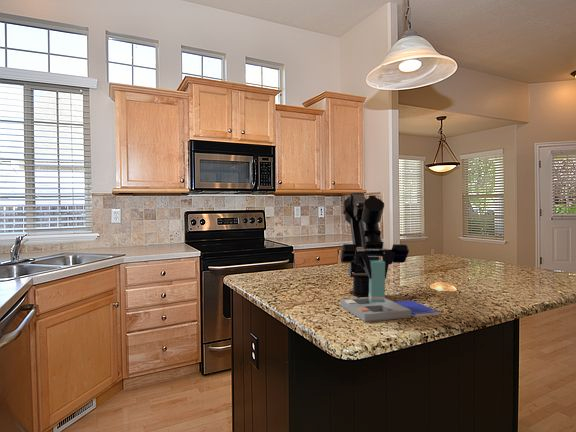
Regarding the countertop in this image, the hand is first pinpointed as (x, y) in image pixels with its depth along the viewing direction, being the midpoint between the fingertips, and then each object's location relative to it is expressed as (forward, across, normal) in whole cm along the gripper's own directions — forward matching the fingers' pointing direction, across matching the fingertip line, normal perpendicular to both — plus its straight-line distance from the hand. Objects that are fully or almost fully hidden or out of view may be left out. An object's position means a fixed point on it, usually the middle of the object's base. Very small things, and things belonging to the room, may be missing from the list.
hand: (378, 278), depth 99 cm
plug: (+4, 0, -6) cm, 7 cm away
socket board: (+4, 0, -12) cm, 12 cm away
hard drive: (+3, -12, -13) cm, 18 cm away
